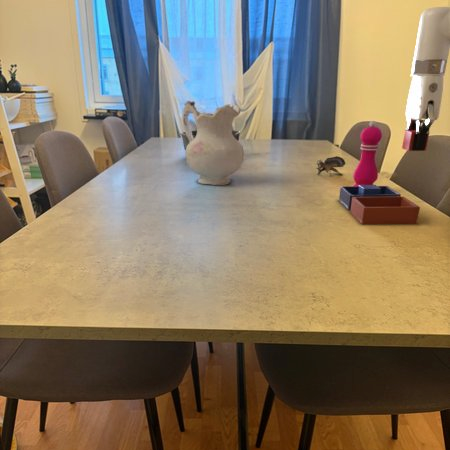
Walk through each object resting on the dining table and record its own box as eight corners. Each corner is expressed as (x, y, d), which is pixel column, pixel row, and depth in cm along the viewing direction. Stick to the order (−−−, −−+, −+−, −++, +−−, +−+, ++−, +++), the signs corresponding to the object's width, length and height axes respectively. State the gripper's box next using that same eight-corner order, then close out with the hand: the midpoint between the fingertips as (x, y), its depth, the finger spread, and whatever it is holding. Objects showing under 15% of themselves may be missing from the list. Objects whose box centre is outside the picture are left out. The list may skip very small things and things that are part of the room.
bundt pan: (178, 152, 202) (177, 129, 198) (233, 150, 207) (233, 128, 202) (184, 162, 179) (183, 136, 175) (246, 159, 184) (246, 134, 179)
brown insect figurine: (323, 174, 149) (348, 168, 149) (317, 155, 150) (342, 149, 150) (317, 182, 157) (341, 177, 157) (312, 164, 157) (336, 158, 158)
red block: (418, 148, 114) (422, 130, 112) (426, 150, 110) (429, 132, 108) (401, 148, 114) (405, 130, 112) (408, 150, 110) (411, 132, 108)
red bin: (400, 212, 112) (403, 196, 110) (416, 223, 103) (420, 207, 101) (350, 212, 112) (352, 196, 110) (361, 224, 103) (364, 207, 101)
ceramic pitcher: (172, 188, 143) (164, 106, 130) (192, 172, 158) (188, 97, 145) (234, 192, 137) (233, 107, 124) (250, 175, 153) (250, 98, 140)
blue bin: (384, 200, 123) (387, 185, 121) (398, 210, 114) (401, 194, 112) (338, 200, 123) (340, 186, 121) (348, 210, 114) (350, 195, 112)
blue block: (373, 201, 120) (375, 184, 118) (378, 205, 116) (381, 188, 114) (356, 201, 120) (359, 184, 118) (361, 205, 116) (364, 188, 114)
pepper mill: (351, 192, 131) (360, 121, 122) (351, 187, 137) (359, 119, 128) (376, 193, 129) (387, 122, 120) (374, 188, 136) (385, 119, 126)
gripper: (461, 68, 96) (442, 153, 105) (429, 69, 111) (415, 144, 120) (427, 69, 96) (412, 154, 105) (400, 70, 111) (388, 144, 120)
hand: (414, 148), depth 112 cm, fingers closed on red block, 4 cm apart
